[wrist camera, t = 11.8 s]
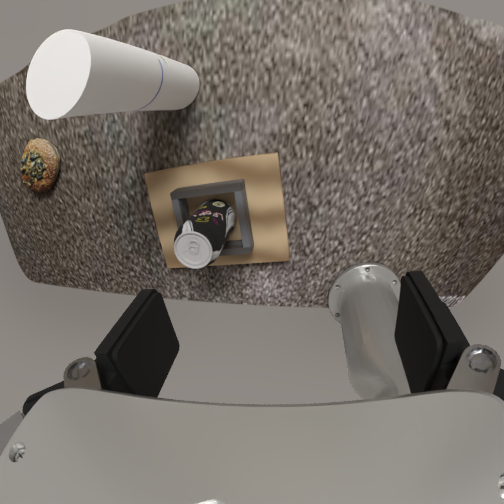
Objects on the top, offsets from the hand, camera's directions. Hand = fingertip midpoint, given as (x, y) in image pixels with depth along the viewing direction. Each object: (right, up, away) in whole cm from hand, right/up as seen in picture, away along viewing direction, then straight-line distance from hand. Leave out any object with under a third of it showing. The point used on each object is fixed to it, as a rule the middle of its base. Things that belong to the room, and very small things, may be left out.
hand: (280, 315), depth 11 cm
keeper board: (-6, +8, +34) cm, 36 cm away
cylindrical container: (-12, +26, +27) cm, 39 cm away
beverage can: (-6, +8, +33) cm, 35 cm away
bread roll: (-41, +19, +35) cm, 57 cm away
